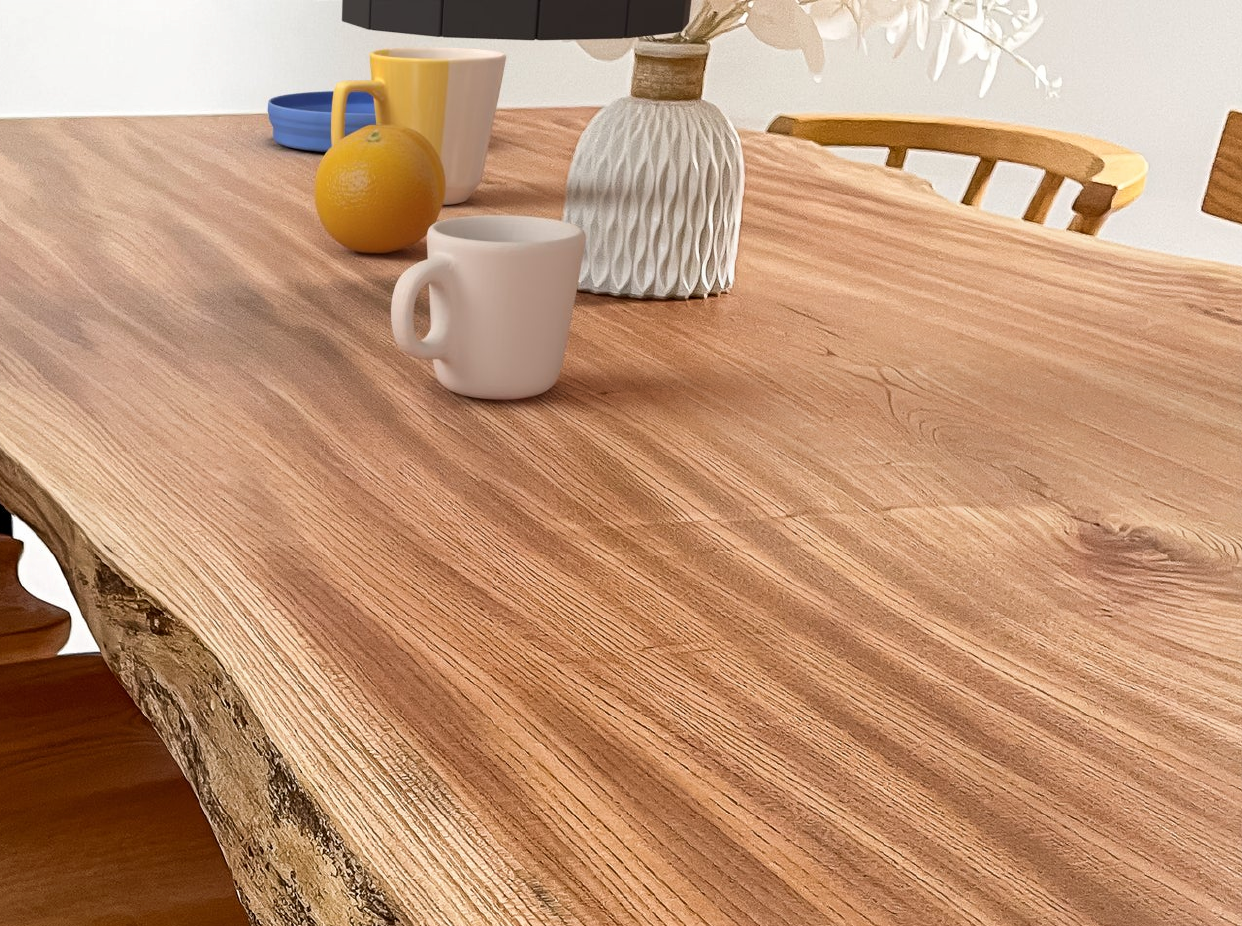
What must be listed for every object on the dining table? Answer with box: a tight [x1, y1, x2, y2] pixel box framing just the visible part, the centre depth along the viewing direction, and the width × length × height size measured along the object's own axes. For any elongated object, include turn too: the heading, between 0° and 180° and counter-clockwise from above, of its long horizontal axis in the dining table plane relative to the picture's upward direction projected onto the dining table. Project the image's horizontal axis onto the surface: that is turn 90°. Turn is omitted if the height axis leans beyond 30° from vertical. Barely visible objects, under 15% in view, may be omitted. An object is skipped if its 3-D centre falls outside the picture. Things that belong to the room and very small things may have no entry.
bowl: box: [267, 90, 377, 153], centre depth 177 cm, size 18×18×4 cm
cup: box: [390, 214, 587, 401], centre depth 99 cm, size 11×8×8 cm
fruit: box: [314, 124, 446, 254], centre depth 132 cm, size 9×8×8 cm
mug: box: [331, 46, 507, 206], centre depth 149 cm, size 14×10×10 cm
